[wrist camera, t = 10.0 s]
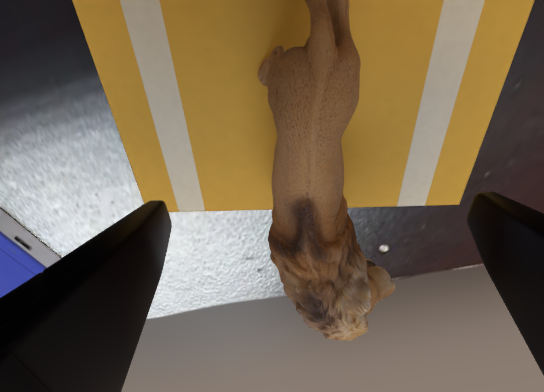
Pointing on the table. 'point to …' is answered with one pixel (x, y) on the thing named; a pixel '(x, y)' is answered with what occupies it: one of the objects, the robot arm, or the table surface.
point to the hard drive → (20, 255)
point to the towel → (254, 96)
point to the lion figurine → (318, 178)
